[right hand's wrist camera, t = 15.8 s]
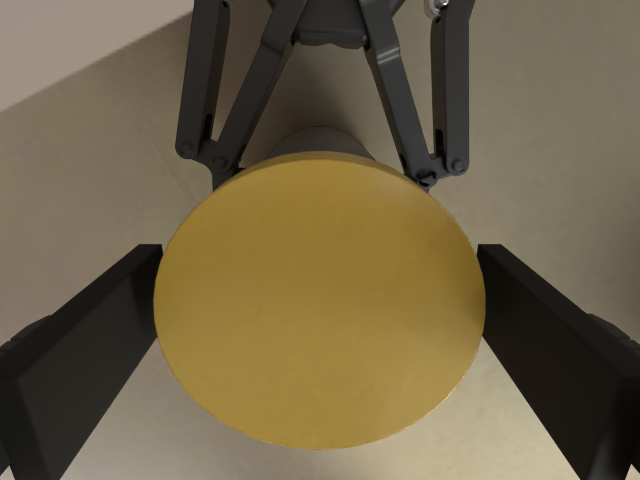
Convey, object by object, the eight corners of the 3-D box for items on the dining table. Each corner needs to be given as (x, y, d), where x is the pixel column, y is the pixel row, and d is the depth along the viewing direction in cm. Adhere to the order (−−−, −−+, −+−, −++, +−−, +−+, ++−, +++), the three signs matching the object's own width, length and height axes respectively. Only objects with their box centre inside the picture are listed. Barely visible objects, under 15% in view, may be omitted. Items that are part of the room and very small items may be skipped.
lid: (491, 158, 11) (520, 167, 9) (440, 415, 14) (456, 455, 12) (160, 142, 11) (132, 149, 9) (185, 406, 14) (168, 445, 12)
